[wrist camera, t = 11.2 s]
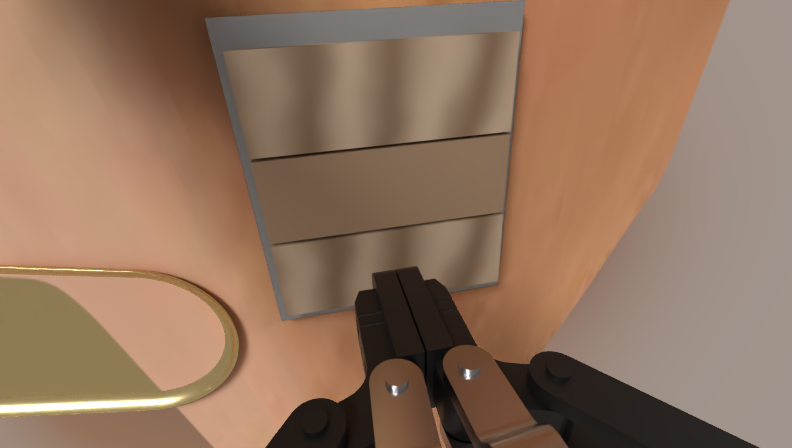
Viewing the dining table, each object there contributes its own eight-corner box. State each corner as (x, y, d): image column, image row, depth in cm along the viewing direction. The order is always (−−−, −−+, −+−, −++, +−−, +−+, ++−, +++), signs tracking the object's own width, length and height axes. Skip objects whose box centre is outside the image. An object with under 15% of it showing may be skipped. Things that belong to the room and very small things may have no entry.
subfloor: (282, 311, 42) (280, 331, 39) (209, 17, 28) (198, 18, 26) (492, 276, 45) (503, 293, 42) (516, 0, 32) (535, -1, 29)
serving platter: (-242, 247, 30) (-269, 258, 28) (241, 265, 39) (238, 274, 37) (-139, 410, 38) (-156, 425, 37) (241, 395, 47) (239, 406, 45)
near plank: (251, 153, 32) (249, 159, 30) (227, 49, 28) (222, 51, 27) (502, 127, 35) (510, 131, 34) (510, 30, 31) (519, 31, 30)
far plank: (287, 306, 39) (286, 316, 38) (272, 239, 36) (270, 247, 34) (491, 273, 42) (498, 281, 41) (496, 208, 39) (503, 214, 38)
